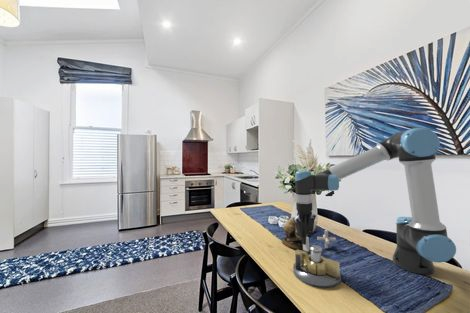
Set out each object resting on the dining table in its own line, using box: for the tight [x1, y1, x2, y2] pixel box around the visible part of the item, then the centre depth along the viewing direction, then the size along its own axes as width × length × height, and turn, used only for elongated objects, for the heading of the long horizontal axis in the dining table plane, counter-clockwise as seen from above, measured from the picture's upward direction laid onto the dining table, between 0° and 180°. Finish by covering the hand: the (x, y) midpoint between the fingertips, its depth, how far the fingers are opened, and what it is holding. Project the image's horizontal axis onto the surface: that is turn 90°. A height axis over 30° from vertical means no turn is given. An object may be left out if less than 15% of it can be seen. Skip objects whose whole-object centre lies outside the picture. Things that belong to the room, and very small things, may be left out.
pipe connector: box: [316, 229, 337, 249], centre depth 120 cm, size 10×10×10 cm
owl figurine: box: [281, 216, 304, 251], centre depth 124 cm, size 18×12×17 cm, turn 29°
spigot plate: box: [292, 244, 342, 289], centre depth 93 cm, size 20×20×12 cm
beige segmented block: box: [294, 249, 341, 277], centre depth 93 cm, size 19×10×6 cm, turn 48°
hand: (306, 250), depth 101 cm, fingers closed
